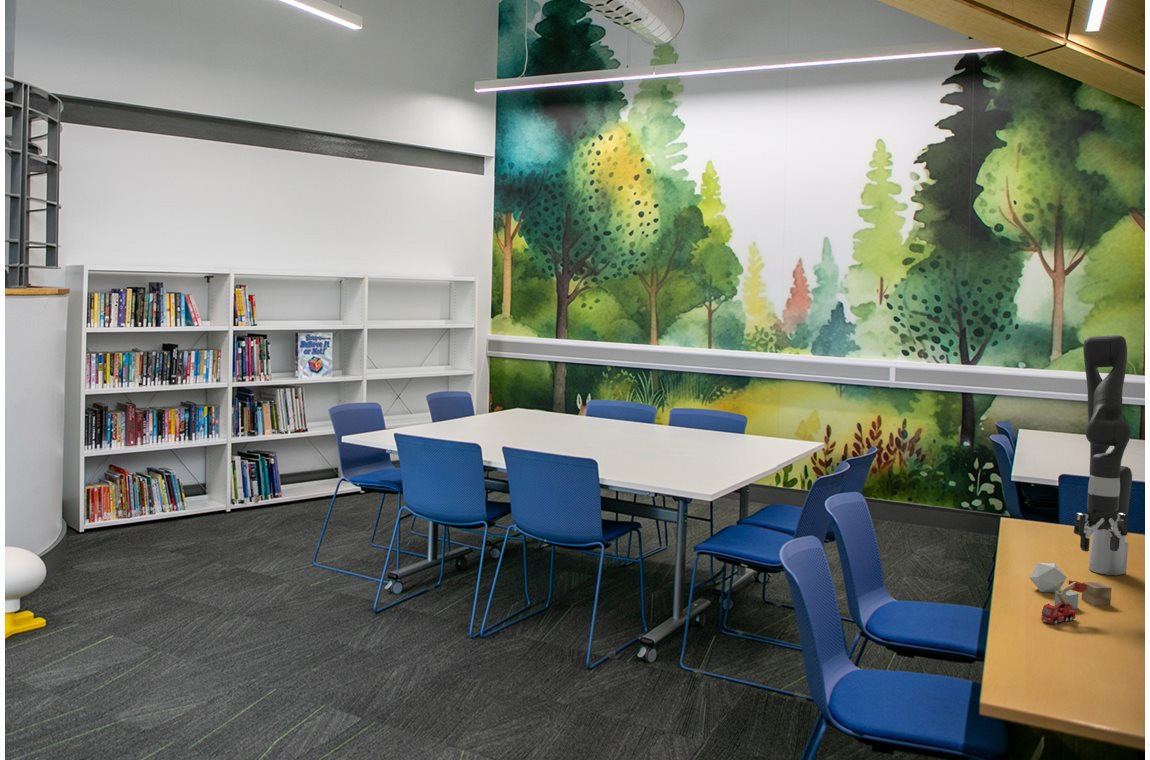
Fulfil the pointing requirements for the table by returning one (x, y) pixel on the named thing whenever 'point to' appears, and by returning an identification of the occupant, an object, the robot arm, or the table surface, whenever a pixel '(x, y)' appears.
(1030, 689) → the table surface
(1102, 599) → the walnut block
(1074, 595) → the slate block
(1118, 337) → the robot arm
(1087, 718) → the table surface
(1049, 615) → the toy fire truck
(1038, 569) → the die
